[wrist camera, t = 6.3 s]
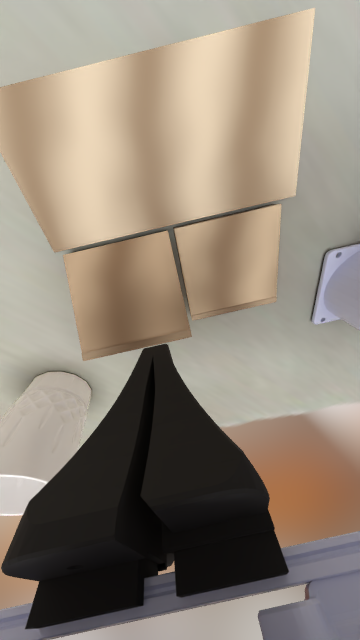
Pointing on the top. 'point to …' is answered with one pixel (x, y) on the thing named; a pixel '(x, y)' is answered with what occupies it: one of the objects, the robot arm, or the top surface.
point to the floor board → (161, 132)
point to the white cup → (40, 436)
